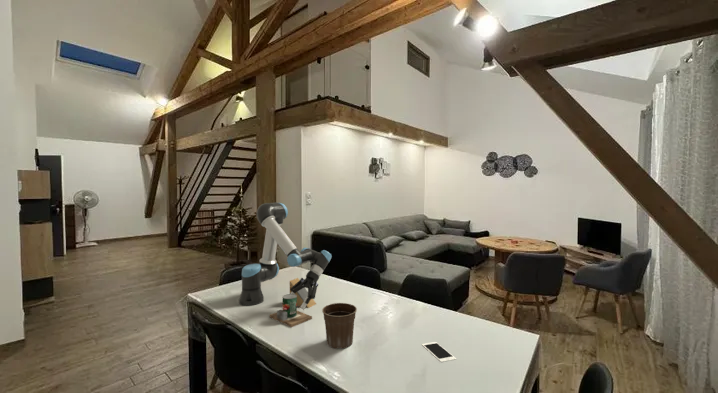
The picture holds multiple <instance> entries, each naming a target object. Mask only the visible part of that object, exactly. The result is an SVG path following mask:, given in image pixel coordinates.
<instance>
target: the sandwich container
mask: <svg viewBox="0 0 718 393" xmlns="http://www.w3.org/2000/svg"><path fill="white" fill-rule="evenodd" d="M298 281H300V279H299V277H297V278H294V279H291V280H289V294H290V293H291V290H290V288H292V287H293V286H294V285H295V284H296V283H297V282H298ZM295 295H297V306H298V307H301V305H302V303H303V302H304V300H305V298H306V297H308V289H307V288H302V289H301V290H299V291H298V292H296V293H295ZM315 305H317V302H316V301H315V299H311V300H310V302H309V303H308V304H307V305H306V307H305V308H308V309H310V308H312V307H313V306H315Z"/></svg>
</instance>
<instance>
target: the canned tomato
mask: <svg viewBox="0 0 718 393" xmlns="http://www.w3.org/2000/svg"><path fill="white" fill-rule="evenodd" d="M282 310H283V311H286V312H287V318H293V317H296V316H297V311H298V307H297V295H295V294H290V293H289V294H283V295H282Z"/></svg>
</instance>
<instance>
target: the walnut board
mask: <svg viewBox="0 0 718 393" xmlns="http://www.w3.org/2000/svg"><path fill="white" fill-rule="evenodd" d="M269 318H271V319H273V320H275V321H277V322H279V323H281V322H282V323H281V324H283V323H284V325H286V326H288V327H290V328H294V327H296V326H299V325H301V324H304V323H306V322H308V321H311V320H313V316H312V315H309V314H307V313H304V312H302V311H299V310H297V316H296V317H293V318H287V312H286V311H283V309H278V310H276V312H274V313H270V314H269Z"/></svg>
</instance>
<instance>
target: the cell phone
mask: <svg viewBox="0 0 718 393" xmlns="http://www.w3.org/2000/svg"><path fill="white" fill-rule="evenodd" d="M421 346H422V347H424V348H425V349H426V350H427V351H428V352H429V353H430V354H431V355H433V356H434V357H435V359H436V360H438V361H439V362H440V363H445V362H449V361H454V360H457V357H455V356H454V355H453V354H452V353H450V352H449V351H448V350H447V349H446V348H444V347H443V346H442V345H440V344H439V343H438V342H437V341H432V342H426V343H422V344H421Z"/></svg>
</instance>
